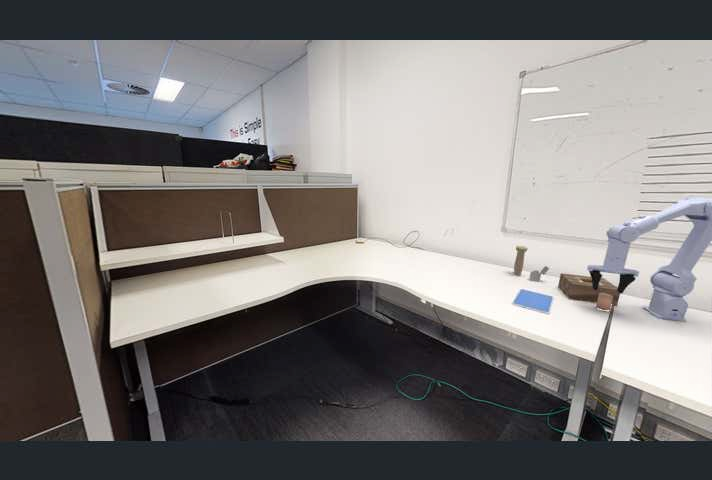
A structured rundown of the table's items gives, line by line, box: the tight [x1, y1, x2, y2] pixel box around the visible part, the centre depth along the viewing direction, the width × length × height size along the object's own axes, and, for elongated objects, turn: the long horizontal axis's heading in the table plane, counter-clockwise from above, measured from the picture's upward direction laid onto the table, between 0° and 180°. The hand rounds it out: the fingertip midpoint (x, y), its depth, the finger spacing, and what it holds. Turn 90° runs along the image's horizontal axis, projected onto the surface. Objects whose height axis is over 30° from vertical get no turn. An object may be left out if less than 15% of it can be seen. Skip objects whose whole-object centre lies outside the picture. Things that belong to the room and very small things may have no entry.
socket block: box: [557, 272, 621, 307], centre depth 115 cm, size 14×16×7 cm
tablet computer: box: [511, 288, 555, 315], centre depth 109 cm, size 19×13×1 cm, turn 139°
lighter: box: [529, 265, 550, 282], centre depth 131 cm, size 7×2×8 cm, turn 74°
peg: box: [595, 293, 613, 310], centre depth 103 cm, size 4×4×6 cm
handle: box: [513, 245, 528, 276], centre depth 138 cm, size 5×6×15 cm
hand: (607, 290), depth 102 cm, fingers open, 7 cm apart
